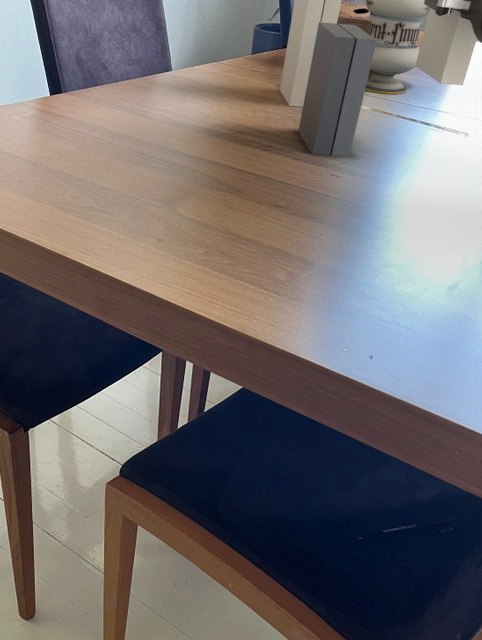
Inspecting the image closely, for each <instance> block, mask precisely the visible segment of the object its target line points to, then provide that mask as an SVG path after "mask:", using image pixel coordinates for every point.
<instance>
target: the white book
mask: <svg viewBox="0 0 482 640" xmlns="http://www.w3.org/2000/svg"><path fill="white" fill-rule="evenodd" d="M477 40H478V39H477V37H476V36H475V34H474V31H473V27H472V24H471V22H470V20H467V19H464V18H462V17H461V14H460V12H459V11H456V10H453V9H452V12H451V14H446V15H442V16H438V15H437V14H435V10H433V9H431V8H430V11H429V14H428V15H427V19H426V23H425V27H424V29H423V33H422V38H421V42H420V46H419V53H418V57H417V61H416V64H415V66H416V68H417V69H419V70H420V71H422V72H423V73H424V74H426V75H428V76H429V77H430V78H432V80H435V81H436V82H437V83H439V85H456V86H464V82H465V79H466V77H467V73H468V70H469V66H470V63H471V60H472V57H473V53H474V50H475V46H476V44H477Z"/></svg>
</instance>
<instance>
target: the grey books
mask: <svg viewBox="0 0 482 640" xmlns="http://www.w3.org/2000/svg"><path fill="white" fill-rule="evenodd" d="M376 41H377V40H376V39H375V38H373V37H372V36H370V35H369V34H367V33H366V32H365V31H363V30H362V29H360V28H359V27H358V26H356V25H347V24H338V25H337V24H334V23H321V22H319V24H318V30H317V35H316V40H315V46H314V51H313V56H312V62H311V67H310V72H309V78H308V83H307V88H306V93H305V99H304V104H303V107H302V110H301V116H300V120H299V125H298V131H297V132H298V133H299V135H300V137H301V138H302V141H304V143H305V145H306V146H307V148H308V149H309V152H310V153H311V154H312V155H321V156H335V157H350V156H351V152H352V148H353V143H354V138H355V135H356V131H357V127H358V121H359V119H360V118H359V117H360V114H361V113H360V112H361V109H362V104H363V100H364V96H365V93H366V90H365V88H366V84H367V79H368V75H369V71H370V67H371V62H372V58H373V54H374V50H375V45H376Z"/></svg>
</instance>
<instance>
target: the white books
mask: <svg viewBox="0 0 482 640" xmlns="http://www.w3.org/2000/svg"><path fill="white" fill-rule="evenodd" d="M341 1H342V0H294V1H293V2H294V3H293V9H292V14H291V21H290V26H289V32H288V38H287V44H286V45H287V46H286V50H285V56H284V57H285V58H284V64H283V69H282V74H281V80H280V86H279V92H280V94H281V95H282V96H283V98H284V100H285V101H286V103H287V105H288V106H289V107H296V108H297V107H298V108H303V104H304V99H305V93H306V88H307V83H308V78H309V72H310V67H311V62H312V56H313V51H314V46H315V40H316V35H317V30H318V24H319V22H321V23H334V24H337V20H338V15H339V10H340V5H341Z"/></svg>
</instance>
